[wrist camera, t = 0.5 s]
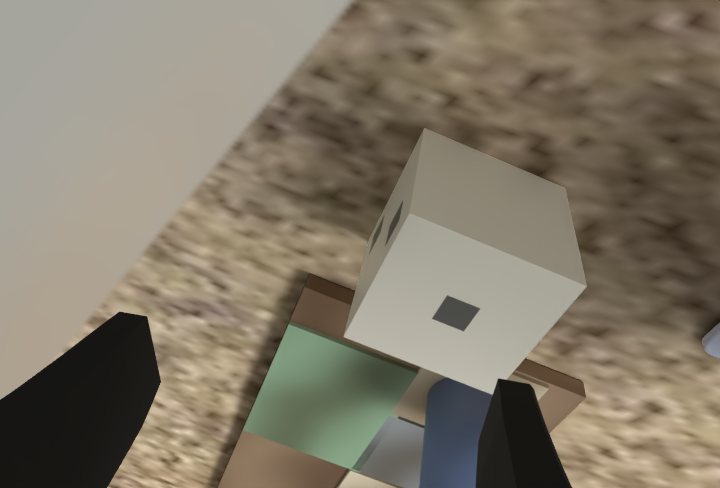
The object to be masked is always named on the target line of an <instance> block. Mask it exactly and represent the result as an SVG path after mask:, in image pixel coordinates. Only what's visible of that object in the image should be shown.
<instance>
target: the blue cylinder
mask: <svg viewBox="0 0 720 488" xmlns="http://www.w3.org/2000/svg"><path fill="white" fill-rule="evenodd" d="M492 396H493V395H492V394H489V393H486V392H484V391H481V390H479V389H476V388H474V387H471V386H468V385H466V384H463V383H461V382H458V381H456V380H453V379H450V378H448V377H447V378H444V379H442V380H440V381H438V382H436V383H435V384H434V385H433V386H432V387H431V388H430V390H429V392H428V395H427V405H426V416H425V427H424V438H423V449H422V461H421V472H420V483H419V488H475V487H476V469H477V454H478V441H479V437H480V434H481V431H482V428H483V425H484V422H485V418H486V415H487V412H488V409H489V406H490V402H491V399H492Z"/></svg>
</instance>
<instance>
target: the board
mask: <svg viewBox="0 0 720 488" xmlns="http://www.w3.org/2000/svg"><path fill="white" fill-rule="evenodd" d="M354 294H355V292H354V291H352V290H349V289H347V288H344V287H341V286H339V285H336V284H334V283H331V282H329V281H326V280H324V279H321V278H319V277H316V276H314V275H311V274H309V276H308V279H307V281H306V283H305V286H304V288H303V290H302V292H301V295H300V297H299V299H298V302H297V304H296V306H295V309H294V311H293V313H292V316H291V318H290V320H289V323H288V325H287V327H286V330H285V332H284V334H283V336H282V339H281V341H280V343H279V346H278V348H277V350H276V353H275V355H274V357H273V360H272V362H271V364H270V367H269V369H268V371H267V374H266V376H265V378H264V380H263V383H262V385H261V387H260V390H259V392H258V394H257V397H256V399H255V401H254V404H253V406H252V408H251V411H250V413H249V415H248V418H247V420H246V422H245V424H244V427H243V429H242V431H241V434H240V436H239V438H238V441H237V443H236V445H235V448H234V450H233V452H232V455H231V457H230V459H229V462H228V464H227V466H226V468H225V471H224V473H223V475H222V478H221V480H220V482H219V485H218V487H217V488H419V483H420V472H421V461H422V449H423V438H424V427H425V416H426V405H427V395H428V392H429V390H430V388H431V387H432V386H433V385H434V384H435V383H436V382H438V381H440V380H442V379H444V378H447V377H445V376H443V375H440V374H437V373H435V372H432V371H430V370H427V369H425V368H422V367H419V366H417V365H414V364H412V363H409V362H407V361H404V360H401V359H399V358H396V357H394V356H391V355H388V354H386V353H383V352H381V351H378V350H376V349H373V348H370V347H368V346H365V345H363V344H360V343H358V342H355V341H352V340H350V339H347V338H345V337H344V333H345V329H346V325H347V321H348V317H349V313H350V309H351V306H352V302H353V298H354ZM507 380H511V381H517V382H522V383H528V384H530V385H531V386H532V387H533V388H534V391H535V394H536V397H537V400H538V403H539V406H540V409H541V412H542V415H543V418H544V421H545V424H546V426H547V429H548V432H549V433H550V432H551V431H552V430H553V429H554V428H555V427H556V426H557V425H558V424H559V423H560V422H561V421H562V420H563V419H564V418H566V417H567V416H568V415H569V414H570V413H571V412H572V411H573V410H574V409H575V408H576V407H577V406H578V405H579V404H580V403H581V402H582V401H583V400H584V399H585V398H586V395H585V389H584V384H583V382H582V381H579V380H577V379H574V378H571V377H569V376H566V375H564V374H561V373H559V372H556V371H554V370H551V369H549V368H546V367H544V366H541V365H539V364H536V363H534V362H531V361H529V360H526V359H524V360H523V361H522V362H521V363H520V365H519V366H518V367H517V368H516V369H515V370H514V372H513V373H512V374H511V375H510V376H509V377H508V379H507Z"/></svg>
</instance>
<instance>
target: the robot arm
mask: <svg viewBox="0 0 720 488" xmlns="http://www.w3.org/2000/svg"><path fill="white" fill-rule="evenodd" d="M702 345H703V347H704V349H705V351H706V353H708V354H709V355H712V356H714V357H716V358H719V359H720V323H719V324H717V325H716V326H715V327H714V328H713V329H712V330H711V331H710V332H708V333H707V334H706V335H705V336H704V338H703V339H702ZM160 383H161V380H160V375H159V370H158V366H157V361H156V356H155V351H154V347H153V342H152V337H151V333H150V328H149V323H148V318H147V316H141V315H135V314H130V313H124V312H118V313H117V314H116V315H114V316H113V317H112V318H110V319H109V320H108V321H106V322H105V323H104V324H102V325H101V326H100V327H98V328H97V329H96V330H94V331H93V332H92V333H90V334H89V335H88V336H86V337H85V338H84V339H83V340H81V341H80V342H79V343H77V344H76V345H75V346H73V347H72V348H71V349H69V350H68V351H67V352H66V353H64V354H63V355H62V356H60V357H59V358H58V359H56V360H55V361H54V362H52V363H51V364H50V365H48V366H47V367H46V368H44V369H43V370H41V371H40V372H39V373H37V374H36V375H35V376H33V377H32V378H31V379H29V380H28V381H27V382H25V383H24V384H22V385H21V386H20V387H18V388H17V389H15V390H14V391H13V392H11V393H10V394H8V395H7V396H5V397H4V398H2V399H1V400H0V488H107V487H108V485H109V483H110V482H111V480H112V478H113V477H114V475H115V473H116V471H117V470H118V468H119V466H120V465H121V463H122V461H123V459H124V458H125V456H126V454H127V452H128V451H129V449H130V447H131V445H132V444H133V442H134V440H135V438H136V437H137V435H138V433H139V431H140V429H141V428H142V425H143V423H144V421H145V419H146V416H147V414H148V412H149V410H150V407H151V405H152V402H153V400H154V398H155V395H156V393H157V390H158V388H159V385H160ZM475 488H572V487H571V484H570V482H569V480H568V478H567V475H566V473H565V471H564V469H563V466H562V464H561V462H560V459H559V457H558V455H557V452H556V450H555V447H554V444H553V442H552V439H551V437H550V434H549V432H548V429H547V426H546V424H545V421H544V418H543V415H542V412H541V409H540V406H539V403H538V400H537V397H536V394H535V391H534V388H533V387H532V386H531V385H530V384H528V383H522V382H517V381H511V380H505V379H499V378H498V380H497V383H496V386H495V390H494V393H493V396H492V399H491V402H490V406H489V409H488V412H487V415H486V418H485V422H484V425H483V428H482V431H481V434H480V437H479V441H478V454H477V469H476V487H475Z"/></svg>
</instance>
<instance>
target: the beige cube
mask: <svg viewBox="0 0 720 488" xmlns="http://www.w3.org/2000/svg"><path fill="white" fill-rule="evenodd" d="M586 287H587V283H586V279H585V274H584V270H583V265H582V261H581V256H580V252H579V247H578V243H577V238H576V234H575V229H574V224H573V220H572V215H571V211H570V206H569V202H568V197H567V193H566V188H564V187H562V186H560V185H557V184H555V183H553V182H550V181H548V180H546V179H543V178H541V177H539V176H536V175H534V174H532V173H529V172H527V171H525V170H522V169H520V168H518V167H515V166H513V165H510V164H508V163H506V162H503V161H501V160H499V159H496V158H494V157H492V156H489V155H487V154H485V153H482V152H480V151H478V150H475V149H473V148H471V147H468V146H466V145H464V144H461V143H459V142H457V141H454V140H452V139H450V138H447V137H445V136H443V135H440V134H438V133H436V132H433V131H431V130H429V129H426V128H424V129H423V131H422V133H421V135H420V137H419V139H418V141H417V144H416V146H415V148H414V150H413V152H412V154H411V156H410V158H409V160H408V162H407V164H406V166H405V168H404V170H403V172H402V174H401V176H400V178H399V180H398V182H397V184H396V186H395V188H394V190H393V192H392V194H391V196H390V198H389V200H388V202H387V204H386V206H385V208H384V210H383V212H382V214H381V216H380V218H379V220H378V222H377V224H376V226H375V228H374V230H373V232H372V234H371V236H370V238H369V240H368V243H367V247H366V251H365V255H364V259H363V263H362V267H361V271H360V274H359V278H358V282H357V286H356V290H355V294H354V298H353V302H352V306H351V309H350V313H349V317H348V321H347V325H346V329H345V333H344V337H345V338H347V339H350V340H352V341H355V342H358V343H360V344H363V345H365V346H368V347H370V348H373V349H376V350H378V351H381V352H383V353H386V354H388V355H391V356H394V357H396V358H399V359H401V360H404V361H407V362H409V363H412V364H414V365H417V366H419V367H422V368H425V369H427V370H430V371H432V372H435V373H437V374H440V375H443V376H445V377H448V378H450V379H453V380H456V381H458V382H461V383H463V384H466V385H468V386H471V387H474V388H476V389H479V390H481V391H484V392H486V393H489V394H492V395H493V393H494V390H495V386H496V383H497V380H498V378H499V379H505V380H507V379H508V377H509V376H510V375H511V374H512V373H513V372H514V370H515V369H516V368H517V367H518V366H519V365H520V363H521V362H522V361H523V360H524V359H525V358H526V357H527V355H528V354H529V353H530V352H531V351H532V350H533V348H534V347H535V346H536V345H537V344H538V343H539V341H540V340H541V339H542V338H543V337H544V336H545V334H546V333H547V332H548V331H549V330H550V329H551V328H552V326H553V325H554V324H555V323H556V322H557V321H558V319H559V318H560V317H561V316H562V315H563V314H564V312H565V311H566V310H567V309H568V308H569V307H570V306H571V304H572V303H573V302H574V301H575V300H576V299H577V297H578V296H579V295H580V294H581V293H582V292H583V290H584V289H585V288H586Z"/></svg>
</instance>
